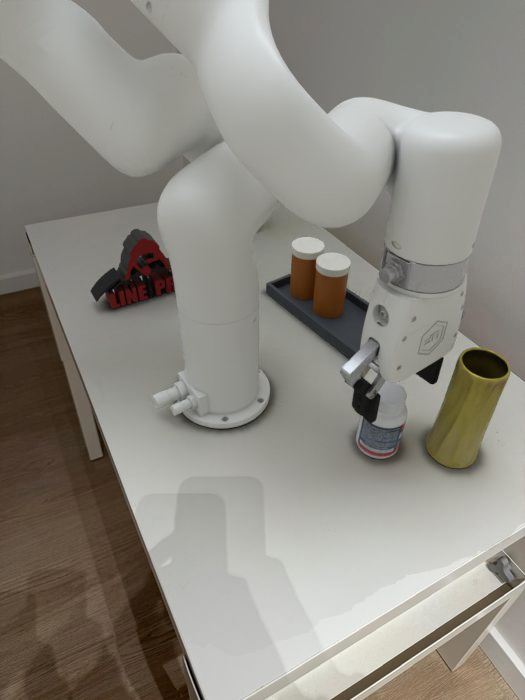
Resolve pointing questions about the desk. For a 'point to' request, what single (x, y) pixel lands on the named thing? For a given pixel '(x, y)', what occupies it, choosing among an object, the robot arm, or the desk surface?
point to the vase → (468, 407)
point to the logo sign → (136, 272)
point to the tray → (337, 330)
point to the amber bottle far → (304, 266)
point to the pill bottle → (384, 423)
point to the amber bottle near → (330, 284)
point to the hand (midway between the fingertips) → (394, 395)
